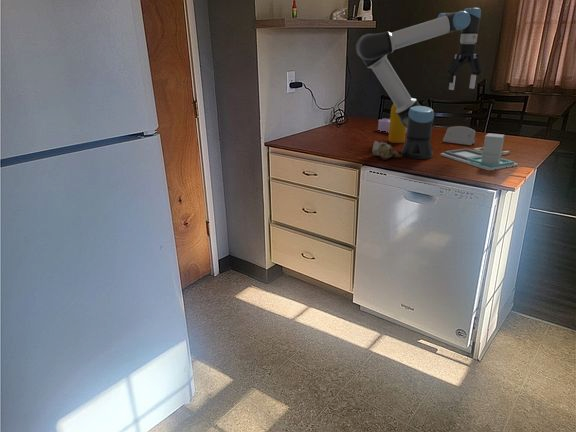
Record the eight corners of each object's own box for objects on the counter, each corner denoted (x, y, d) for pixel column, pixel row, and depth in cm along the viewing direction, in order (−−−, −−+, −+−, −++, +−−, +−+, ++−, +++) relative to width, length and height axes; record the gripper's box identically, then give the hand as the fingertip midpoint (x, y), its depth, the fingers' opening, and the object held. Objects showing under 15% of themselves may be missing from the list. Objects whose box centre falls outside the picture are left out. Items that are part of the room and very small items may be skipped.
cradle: (490, 156, 215) (491, 153, 214) (471, 151, 225) (471, 148, 225) (509, 154, 220) (509, 151, 220) (489, 148, 230) (490, 146, 230)
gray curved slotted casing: (441, 141, 248) (446, 123, 247) (444, 142, 252) (448, 125, 250) (472, 145, 238) (476, 127, 237) (474, 146, 242) (478, 128, 241)
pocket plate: (488, 170, 193) (489, 166, 192) (440, 155, 218) (441, 151, 217) (517, 165, 200) (518, 161, 199) (467, 151, 225) (467, 147, 224)
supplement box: (500, 161, 203) (505, 134, 198) (497, 165, 198) (502, 137, 193) (483, 159, 207) (488, 132, 202) (480, 162, 201) (484, 135, 197)
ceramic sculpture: (383, 136, 219) (404, 143, 208) (381, 152, 223) (402, 161, 211) (367, 139, 214) (388, 146, 203) (365, 155, 218) (386, 164, 206)
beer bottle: (398, 144, 242) (403, 90, 231) (384, 141, 248) (389, 88, 237) (408, 141, 247) (413, 88, 236) (394, 139, 254) (399, 87, 243)
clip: (374, 131, 275) (375, 120, 272) (384, 128, 284) (385, 117, 281) (402, 136, 262) (403, 124, 260) (412, 132, 271) (413, 121, 268)
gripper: (454, 43, 202) (448, 91, 210) (493, 43, 212) (485, 88, 220) (442, 43, 209) (437, 89, 217) (480, 43, 218) (474, 87, 226)
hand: (461, 89), depth 218 cm, fingers open, 13 cm apart
